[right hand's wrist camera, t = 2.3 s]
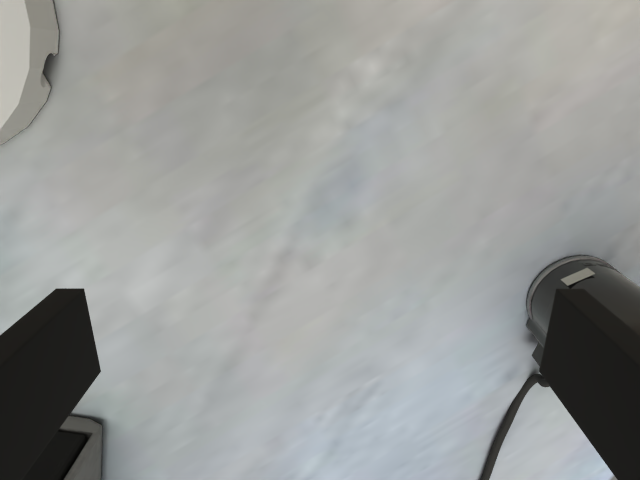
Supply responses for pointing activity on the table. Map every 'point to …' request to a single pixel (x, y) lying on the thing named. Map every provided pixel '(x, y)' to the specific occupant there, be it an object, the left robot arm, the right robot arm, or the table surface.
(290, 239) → the table surface
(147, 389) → the table surface
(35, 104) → the white round base
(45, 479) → the portable cooler box
